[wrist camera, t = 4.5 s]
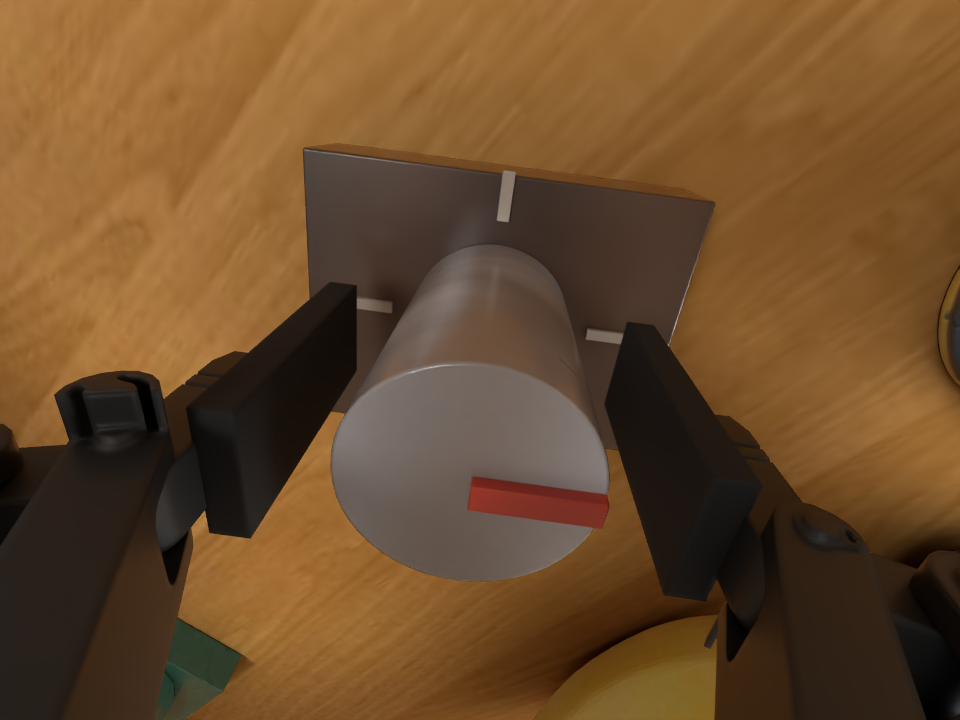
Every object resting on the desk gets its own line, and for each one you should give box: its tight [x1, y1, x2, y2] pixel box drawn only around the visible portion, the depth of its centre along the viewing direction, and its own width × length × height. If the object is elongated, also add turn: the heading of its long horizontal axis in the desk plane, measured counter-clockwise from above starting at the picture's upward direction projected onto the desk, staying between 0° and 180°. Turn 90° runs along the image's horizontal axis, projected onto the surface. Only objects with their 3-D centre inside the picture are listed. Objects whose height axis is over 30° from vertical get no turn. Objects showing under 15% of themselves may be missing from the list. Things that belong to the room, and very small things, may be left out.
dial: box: [331, 244, 610, 582], centre depth 12 cm, size 5×5×8 cm
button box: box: [154, 619, 241, 720], centre depth 28 cm, size 10×8×4 cm
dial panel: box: [303, 143, 716, 450], centre depth 17 cm, size 12×9×3 cm
